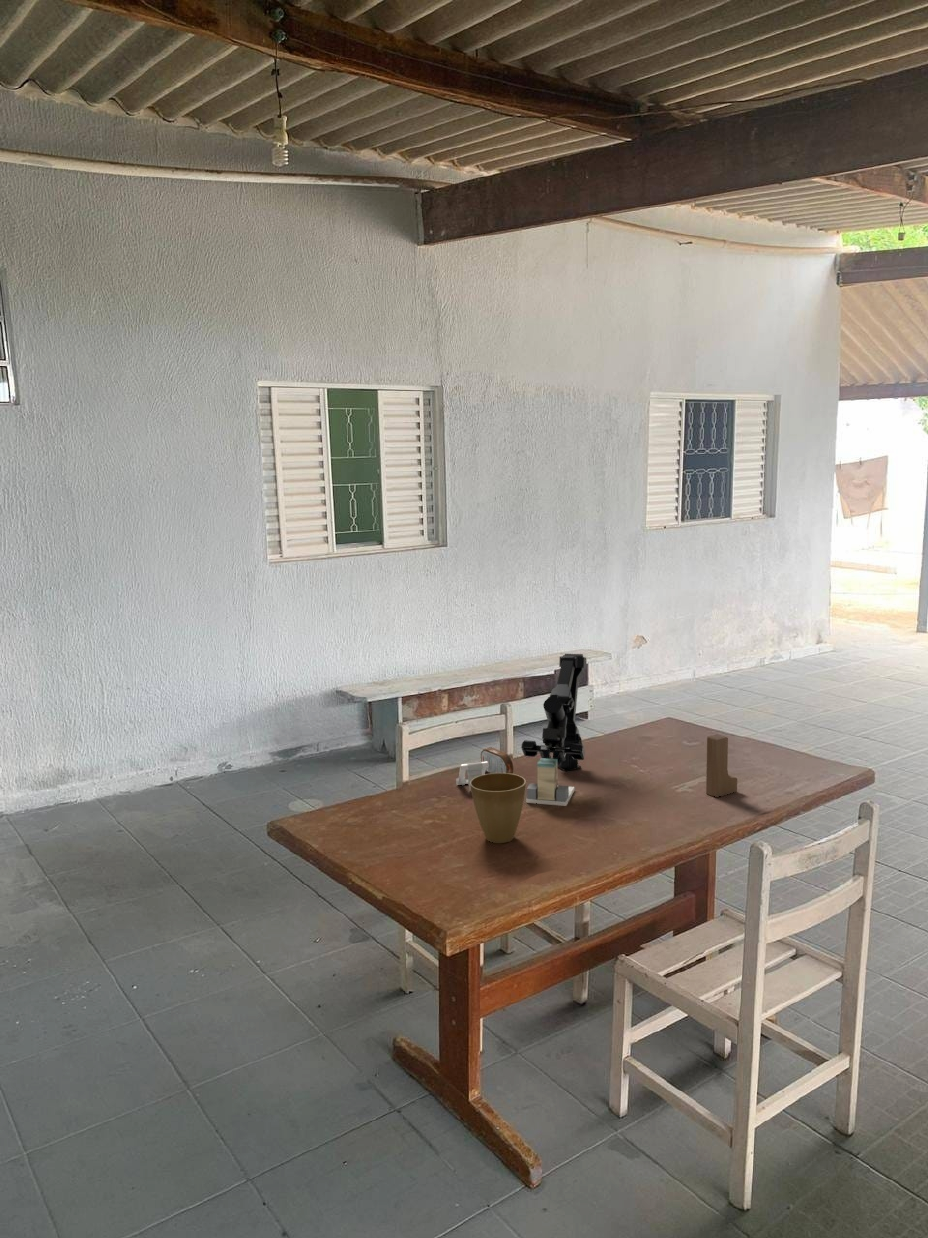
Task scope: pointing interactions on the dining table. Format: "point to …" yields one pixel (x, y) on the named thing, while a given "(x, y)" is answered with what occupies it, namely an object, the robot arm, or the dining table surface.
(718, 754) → the wooden block
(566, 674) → the robot arm
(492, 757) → the tin
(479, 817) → the plant pot
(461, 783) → the portable electronic device stand
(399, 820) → the dining table surface
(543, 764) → the peg
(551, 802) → the block holder base
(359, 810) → the dining table surface
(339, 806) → the dining table surface
